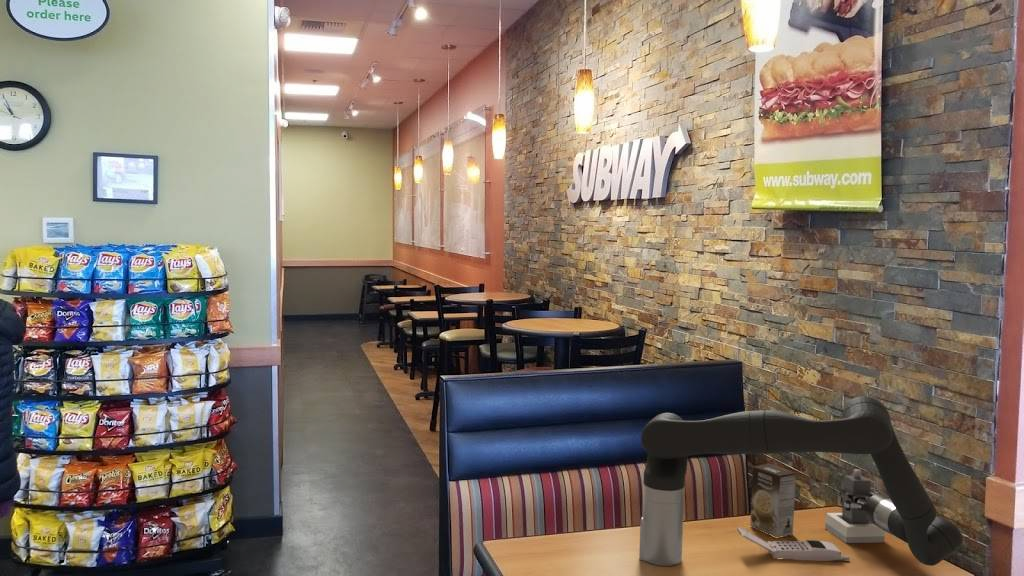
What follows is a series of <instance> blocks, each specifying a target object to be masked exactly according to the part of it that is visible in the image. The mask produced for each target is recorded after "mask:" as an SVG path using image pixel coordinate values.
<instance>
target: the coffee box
mask: <svg viewBox="0 0 1024 576" xmlns="http://www.w3.org/2000/svg"><path fill="white" fill-rule="evenodd" d="M752 467H753V468H752V485H751V486H752V487H751V506H750V521H749V522H750V523H749V524H750V525H749V526H752V527H755V528H757V529H759V530H761V531H764V532H766V533H768V534H771V535H773V536H775V537H780V536H786V537H788V536H787V535H790V536H793V535H794V534H793V533H794V521H795V520H794V519H795V504H796V502H795V500H796V499H795V498H796V487H797V486H796V484H797V472H794V471H791V470H789V469H786V468H783V467H781V466H778V465H775V464H773V463H766V464H758V465H755V466H752ZM752 527H751V528H752ZM792 534H793V535H792Z"/></svg>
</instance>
